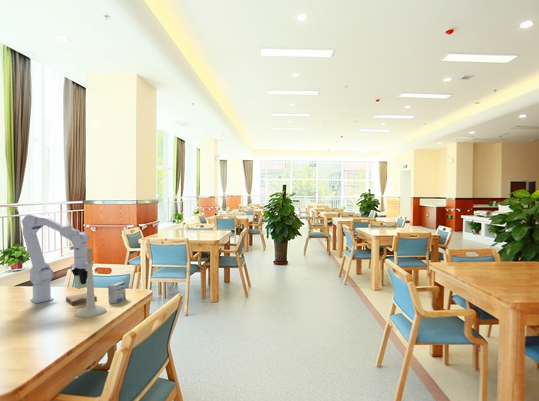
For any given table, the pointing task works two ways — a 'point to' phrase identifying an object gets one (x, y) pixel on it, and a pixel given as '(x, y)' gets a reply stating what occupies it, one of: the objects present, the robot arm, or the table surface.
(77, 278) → the sage block
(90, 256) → the candlestick
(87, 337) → the table surface
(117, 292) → the medicine box
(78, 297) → the walnut block
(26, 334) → the table surface
